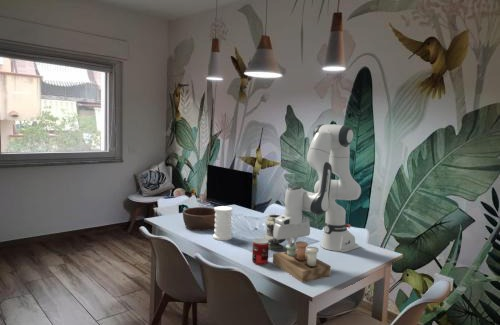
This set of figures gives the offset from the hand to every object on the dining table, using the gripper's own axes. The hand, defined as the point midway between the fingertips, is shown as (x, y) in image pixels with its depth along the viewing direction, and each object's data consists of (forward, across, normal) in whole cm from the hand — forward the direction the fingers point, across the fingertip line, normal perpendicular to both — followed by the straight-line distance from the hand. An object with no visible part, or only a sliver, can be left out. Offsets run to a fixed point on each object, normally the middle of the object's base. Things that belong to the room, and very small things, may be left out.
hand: (291, 245), depth 178 cm
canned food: (+10, +13, -8) cm, 18 cm away
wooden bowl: (+9, +17, -78) cm, 80 cm away
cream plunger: (+4, 0, +16) cm, 16 cm away
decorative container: (+9, +14, -51) cm, 54 cm away
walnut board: (+9, 0, +8) cm, 12 cm away
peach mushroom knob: (+4, 0, +8) cm, 9 cm away
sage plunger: (+8, 0, 0) cm, 8 cm away
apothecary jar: (+9, -6, -24) cm, 27 cm away
